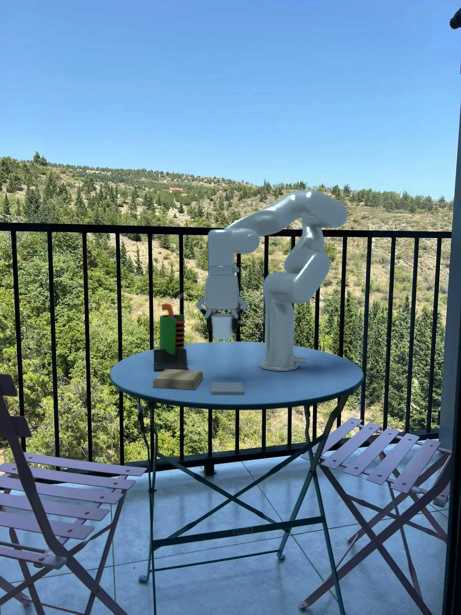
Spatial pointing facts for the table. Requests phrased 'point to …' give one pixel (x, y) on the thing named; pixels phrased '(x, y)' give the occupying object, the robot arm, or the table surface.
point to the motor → (171, 330)
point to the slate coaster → (227, 388)
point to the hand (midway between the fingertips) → (222, 330)
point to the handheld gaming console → (170, 360)
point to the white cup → (222, 326)
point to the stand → (178, 379)
